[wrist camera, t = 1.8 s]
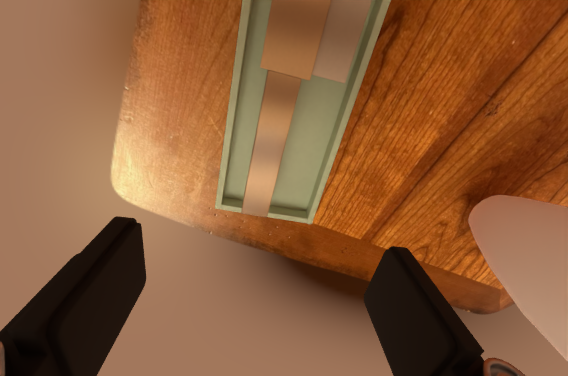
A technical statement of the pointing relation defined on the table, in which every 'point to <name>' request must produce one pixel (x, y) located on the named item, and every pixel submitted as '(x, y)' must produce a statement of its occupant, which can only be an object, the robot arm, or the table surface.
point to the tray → (304, 125)
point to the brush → (296, 77)
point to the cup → (528, 258)
